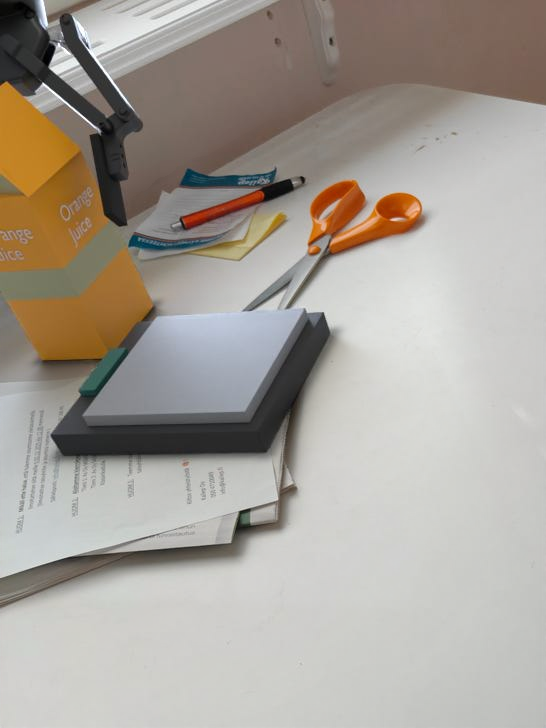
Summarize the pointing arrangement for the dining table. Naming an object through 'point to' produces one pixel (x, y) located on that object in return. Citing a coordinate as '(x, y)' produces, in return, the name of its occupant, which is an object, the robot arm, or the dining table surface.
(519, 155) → the dining table surface
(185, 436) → the scale
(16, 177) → the orange juice
